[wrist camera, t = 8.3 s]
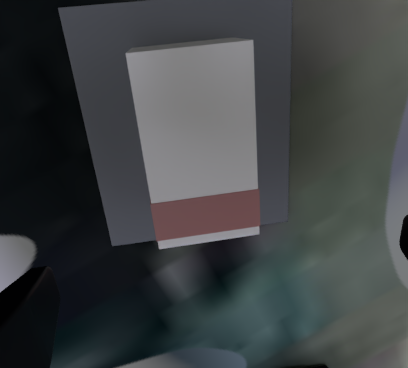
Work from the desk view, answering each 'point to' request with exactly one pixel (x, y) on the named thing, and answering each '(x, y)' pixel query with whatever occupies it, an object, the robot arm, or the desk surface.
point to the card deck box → (198, 138)
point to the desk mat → (124, 104)
